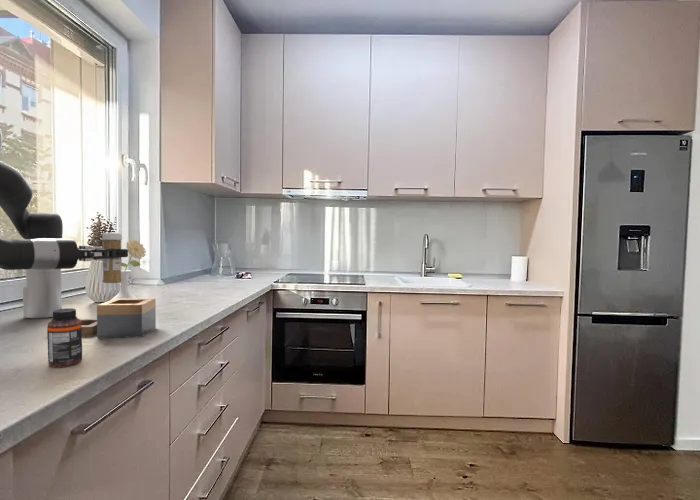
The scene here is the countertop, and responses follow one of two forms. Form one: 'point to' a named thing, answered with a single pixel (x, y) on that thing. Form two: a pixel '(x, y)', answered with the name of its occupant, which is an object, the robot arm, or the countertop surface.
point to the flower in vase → (137, 252)
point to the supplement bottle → (64, 338)
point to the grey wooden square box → (126, 318)
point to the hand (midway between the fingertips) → (122, 252)
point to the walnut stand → (88, 327)
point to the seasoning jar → (112, 265)
